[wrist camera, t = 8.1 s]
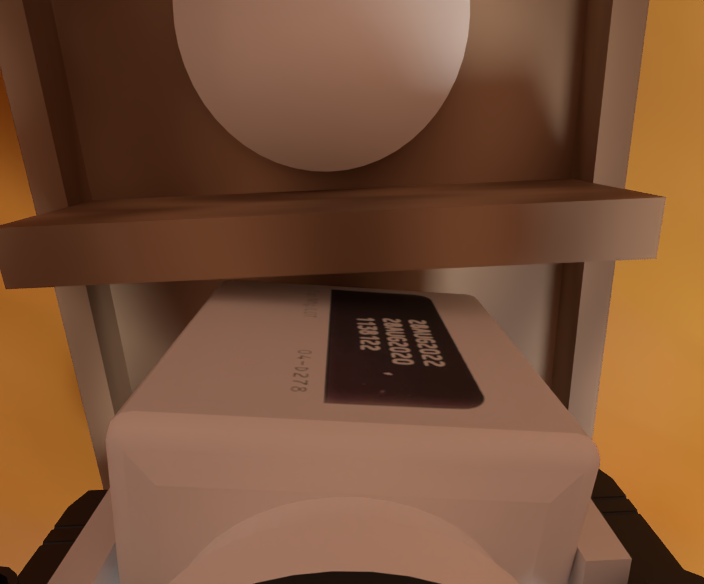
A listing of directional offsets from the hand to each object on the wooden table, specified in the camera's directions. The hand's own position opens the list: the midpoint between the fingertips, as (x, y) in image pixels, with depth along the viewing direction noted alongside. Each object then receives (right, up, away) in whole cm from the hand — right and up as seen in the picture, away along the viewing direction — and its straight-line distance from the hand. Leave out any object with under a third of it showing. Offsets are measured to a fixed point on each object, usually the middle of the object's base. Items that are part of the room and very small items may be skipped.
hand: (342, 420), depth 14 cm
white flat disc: (-1, +12, 0) cm, 12 cm away
